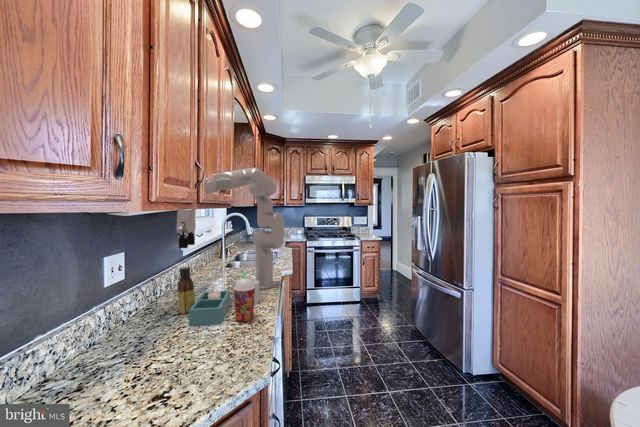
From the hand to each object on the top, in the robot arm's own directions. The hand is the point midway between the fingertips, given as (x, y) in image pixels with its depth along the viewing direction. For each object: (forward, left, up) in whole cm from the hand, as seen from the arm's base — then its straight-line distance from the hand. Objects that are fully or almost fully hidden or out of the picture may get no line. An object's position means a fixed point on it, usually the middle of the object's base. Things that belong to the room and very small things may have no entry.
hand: (187, 246), depth 115 cm
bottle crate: (+4, +11, -29) cm, 31 cm away
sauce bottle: (0, 0, -29) cm, 29 cm away
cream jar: (-1, +11, -28) cm, 30 cm away
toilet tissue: (-9, +23, -29) cm, 38 cm away
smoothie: (+11, +25, -29) cm, 40 cm away
